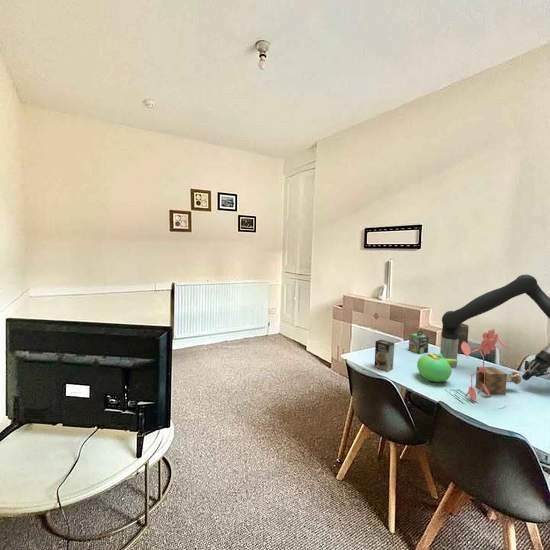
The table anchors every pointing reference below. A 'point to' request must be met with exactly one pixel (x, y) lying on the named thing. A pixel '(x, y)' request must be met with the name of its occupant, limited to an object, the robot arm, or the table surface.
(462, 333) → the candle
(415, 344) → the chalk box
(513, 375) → the plunger peg
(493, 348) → the pink flower sprig
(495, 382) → the bushing block
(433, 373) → the green rounded lump
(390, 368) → the coffee box
